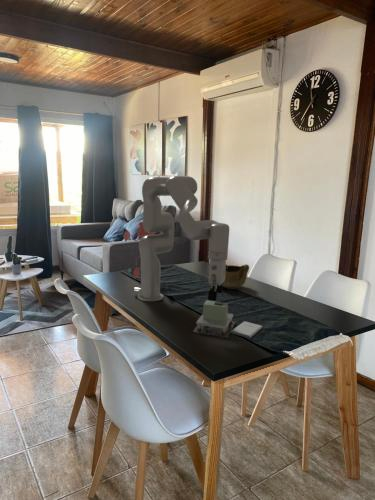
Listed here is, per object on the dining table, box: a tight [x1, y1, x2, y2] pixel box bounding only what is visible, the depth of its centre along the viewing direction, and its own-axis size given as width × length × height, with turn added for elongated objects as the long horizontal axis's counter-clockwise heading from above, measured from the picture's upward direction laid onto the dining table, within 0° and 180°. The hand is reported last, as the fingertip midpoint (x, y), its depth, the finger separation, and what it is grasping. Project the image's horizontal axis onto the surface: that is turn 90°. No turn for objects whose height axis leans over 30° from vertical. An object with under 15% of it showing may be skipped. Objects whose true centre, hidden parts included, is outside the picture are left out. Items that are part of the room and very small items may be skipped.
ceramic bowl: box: [222, 264, 250, 290], centre depth 204 cm, size 22×17×15 cm
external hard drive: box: [230, 321, 263, 339], centre depth 148 cm, size 2×8×12 cm
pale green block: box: [202, 300, 229, 322], centre depth 149 cm, size 9×5×7 cm, turn 72°
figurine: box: [123, 221, 161, 279], centre depth 214 cm, size 15×26×35 cm, turn 122°
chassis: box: [192, 312, 236, 339], centre depth 150 cm, size 14×16×4 cm
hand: (215, 296), depth 148 cm, fingers open, 9 cm apart
